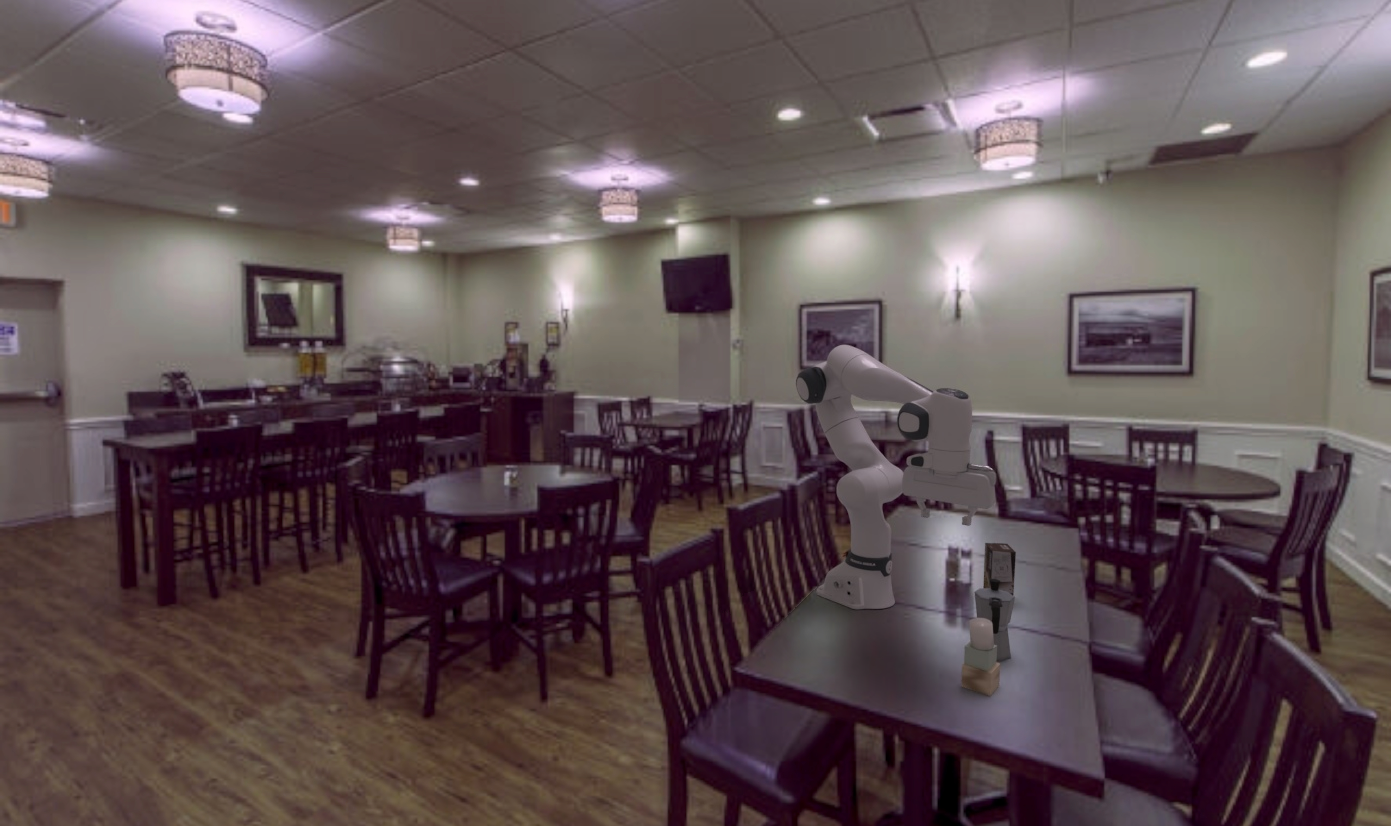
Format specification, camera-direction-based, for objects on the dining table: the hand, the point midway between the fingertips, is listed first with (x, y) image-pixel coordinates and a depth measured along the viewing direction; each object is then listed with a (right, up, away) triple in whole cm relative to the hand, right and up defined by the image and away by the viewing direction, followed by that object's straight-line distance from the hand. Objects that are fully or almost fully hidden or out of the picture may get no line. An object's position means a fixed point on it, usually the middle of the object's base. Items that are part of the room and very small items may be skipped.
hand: (945, 520), depth 150 cm
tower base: (+5, -35, -8) cm, 36 cm away
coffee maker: (+14, -33, +7) cm, 37 cm away
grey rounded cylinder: (+5, -25, -9) cm, 27 cm away
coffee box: (+30, -30, +40) cm, 59 cm away
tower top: (+5, -30, -8) cm, 31 cm away
